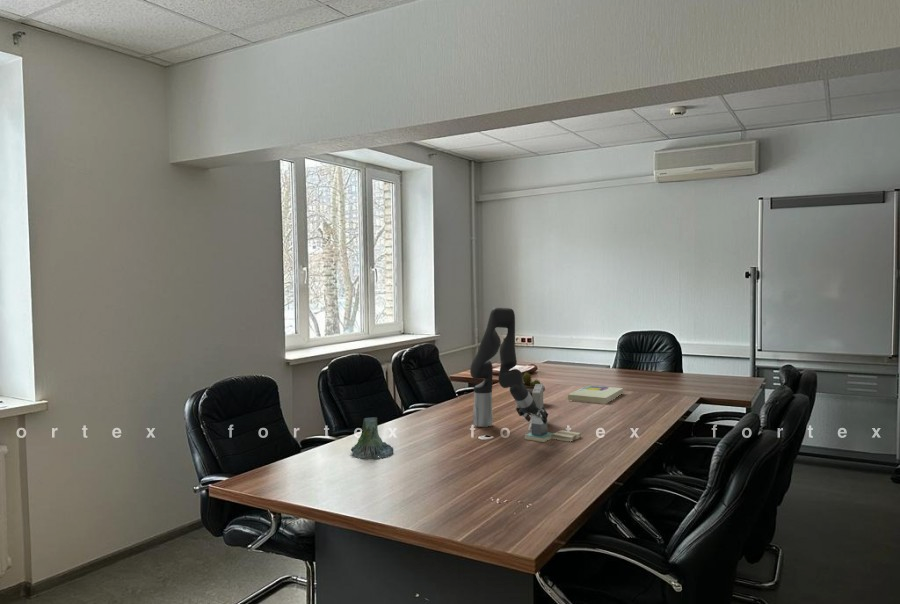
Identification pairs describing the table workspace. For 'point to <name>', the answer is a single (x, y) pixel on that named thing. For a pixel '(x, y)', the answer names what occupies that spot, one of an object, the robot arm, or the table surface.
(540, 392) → the network device
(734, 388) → the table surface
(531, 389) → the flowerpot
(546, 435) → the stand
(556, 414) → the table surface
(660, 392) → the table surface
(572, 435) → the stand
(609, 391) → the puzzle box
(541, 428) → the grey rectangular block
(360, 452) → the tree stump
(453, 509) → the table surface
